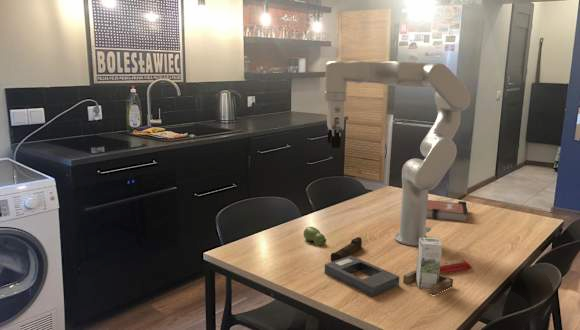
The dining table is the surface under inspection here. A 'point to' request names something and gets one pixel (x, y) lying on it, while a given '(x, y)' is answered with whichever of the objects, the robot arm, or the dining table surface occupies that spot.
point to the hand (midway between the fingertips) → (333, 145)
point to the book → (447, 210)
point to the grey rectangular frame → (370, 285)
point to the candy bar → (453, 266)
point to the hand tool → (347, 249)
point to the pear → (314, 236)
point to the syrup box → (428, 262)
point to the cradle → (441, 286)
